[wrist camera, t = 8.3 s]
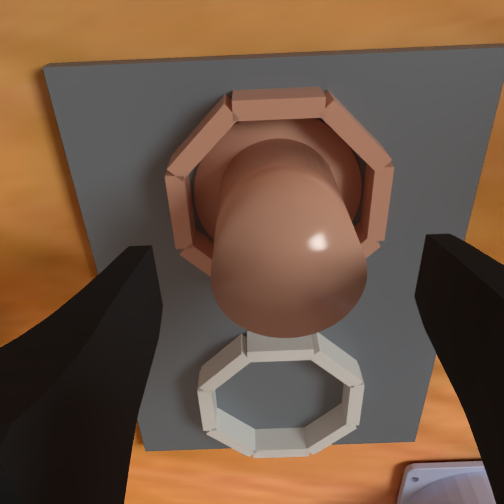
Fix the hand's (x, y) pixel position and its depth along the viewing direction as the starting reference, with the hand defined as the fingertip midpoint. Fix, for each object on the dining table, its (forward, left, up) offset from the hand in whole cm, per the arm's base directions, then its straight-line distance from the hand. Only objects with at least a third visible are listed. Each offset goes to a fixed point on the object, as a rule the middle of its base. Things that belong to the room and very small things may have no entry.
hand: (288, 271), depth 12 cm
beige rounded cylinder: (0, 0, -4) cm, 4 cm away
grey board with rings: (-5, 0, -5) cm, 7 cm away
